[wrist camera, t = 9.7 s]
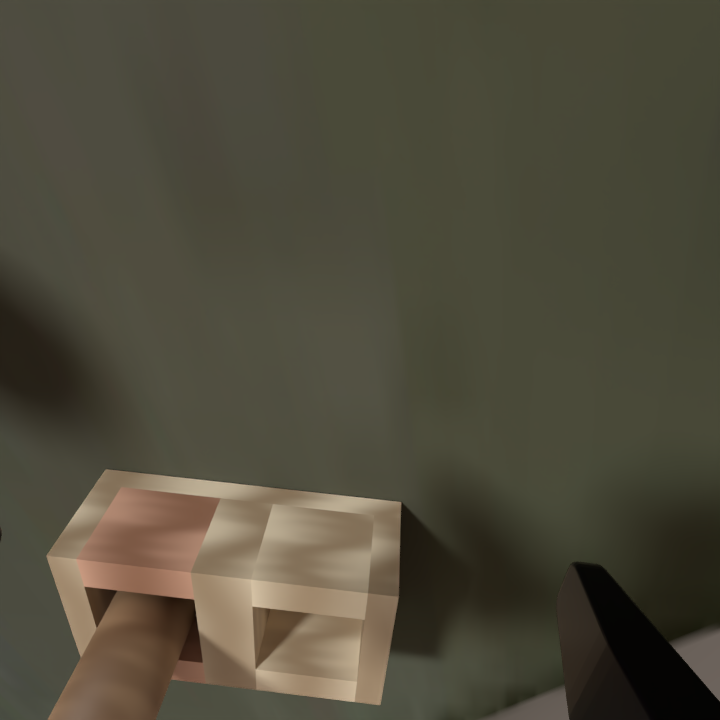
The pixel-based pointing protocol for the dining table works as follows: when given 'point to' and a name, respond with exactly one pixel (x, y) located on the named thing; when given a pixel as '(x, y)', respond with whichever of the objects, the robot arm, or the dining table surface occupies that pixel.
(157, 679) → the dowel
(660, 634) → the robot arm
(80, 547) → the bore block
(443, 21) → the dining table surface
